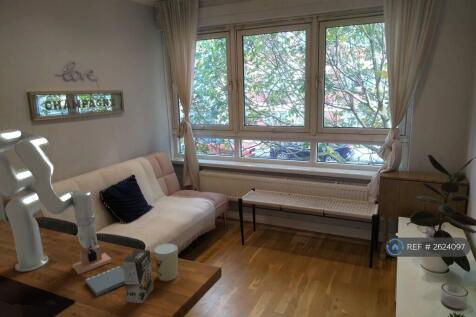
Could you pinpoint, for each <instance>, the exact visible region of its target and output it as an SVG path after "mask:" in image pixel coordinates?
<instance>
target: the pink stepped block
mask: <svg viewBox="0 0 476 317" xmlns="http://www.w3.org/2000/svg"><path fill="white" fill-rule="evenodd" d="M95 247H96V256H97V260H95V261H92V262H89V259H88V249H84V248H83V249H80V250H78V251H79V259H80V261H78V262H75V263H73V264H72V268H73V270H74V271H75V272H76V273H77V275H81V274H83V273H86V272H88V271H92V270H94V269H96V268H99V267H101V266H105V265H107V264H109V263H111V262H113V261H112V258H111V257H110V256H109V255H108V254H107V252H104V253H102V247H101V245H100V244H97V246H95ZM90 249H92V248H90Z"/></svg>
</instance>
